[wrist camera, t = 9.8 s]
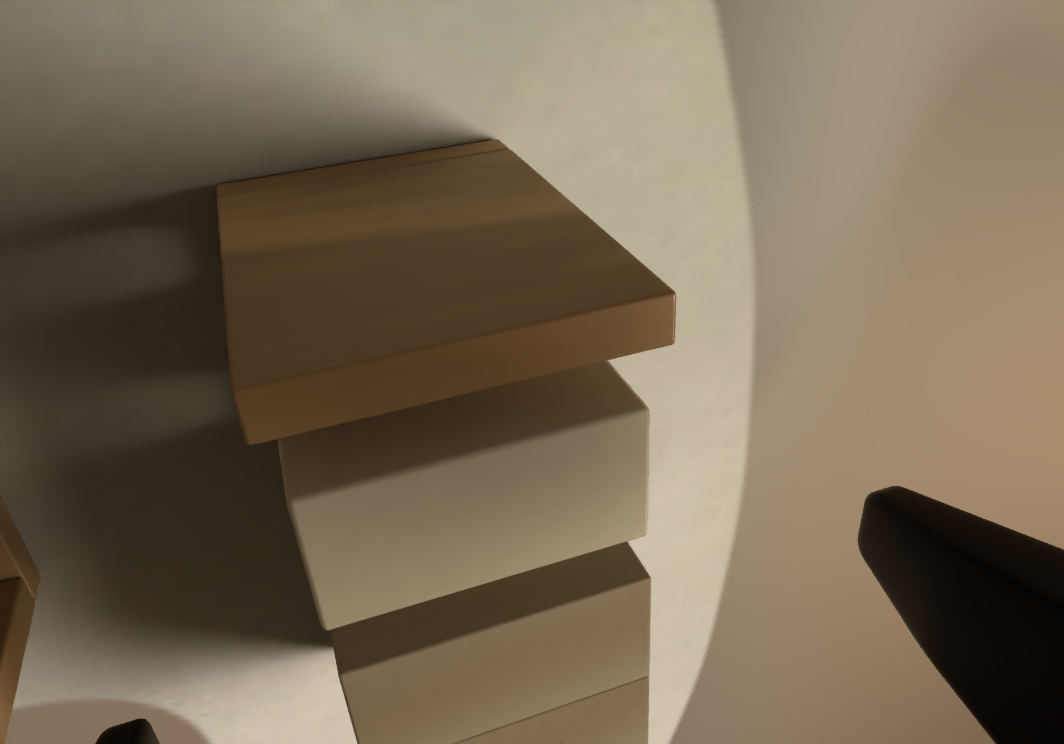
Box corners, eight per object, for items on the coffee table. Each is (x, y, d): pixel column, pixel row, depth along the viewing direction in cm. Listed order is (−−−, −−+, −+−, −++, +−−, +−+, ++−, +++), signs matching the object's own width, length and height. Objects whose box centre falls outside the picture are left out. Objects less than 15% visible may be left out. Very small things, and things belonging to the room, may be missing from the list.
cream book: (510, 334, 19) (649, 536, 13) (280, 385, 17) (323, 634, 12) (501, 232, 17) (652, 408, 12) (252, 280, 16) (286, 502, 10)
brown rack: (537, 589, 24) (660, 846, 18) (341, 649, 23) (399, 951, 16) (498, 137, 17) (677, 292, 11) (215, 184, 16) (229, 391, 9)
